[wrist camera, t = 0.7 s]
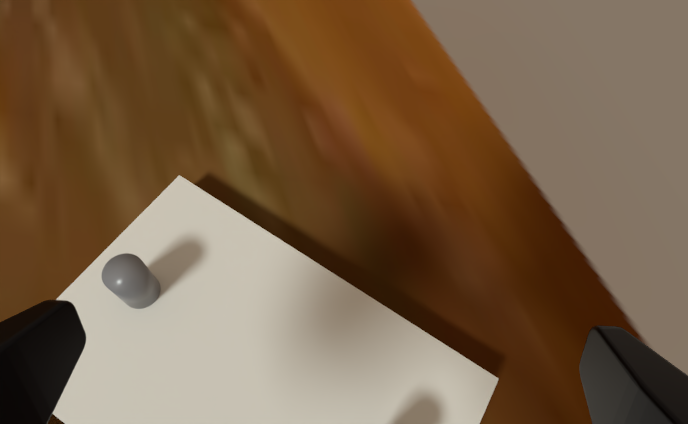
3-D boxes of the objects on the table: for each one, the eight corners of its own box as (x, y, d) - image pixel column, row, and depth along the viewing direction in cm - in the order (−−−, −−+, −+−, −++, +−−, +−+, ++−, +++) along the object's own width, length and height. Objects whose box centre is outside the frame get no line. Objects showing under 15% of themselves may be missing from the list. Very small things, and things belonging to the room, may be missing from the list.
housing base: (367, 652, 17) (386, 708, 13) (11, 370, 20) (-50, 353, 16) (485, 382, 21) (524, 370, 18) (185, 189, 24) (167, 146, 21)
